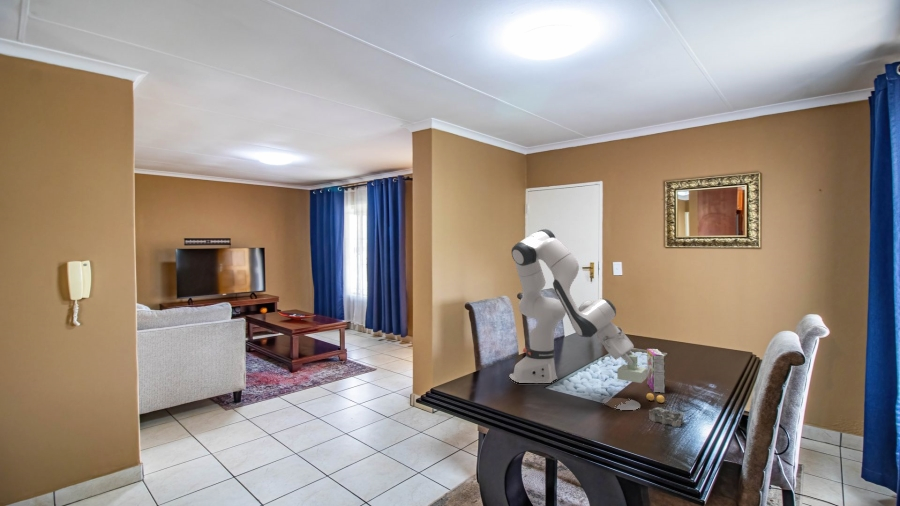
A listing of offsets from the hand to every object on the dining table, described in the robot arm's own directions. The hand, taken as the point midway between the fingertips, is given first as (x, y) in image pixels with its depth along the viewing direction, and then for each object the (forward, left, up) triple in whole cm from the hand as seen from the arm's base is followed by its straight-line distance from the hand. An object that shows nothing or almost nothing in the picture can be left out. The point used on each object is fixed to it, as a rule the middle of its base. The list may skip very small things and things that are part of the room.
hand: (633, 362), depth 174 cm
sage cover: (-1, 0, -6) cm, 6 cm away
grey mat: (-6, 0, -16) cm, 17 cm away
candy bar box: (+19, +14, -16) cm, 29 cm away
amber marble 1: (+8, +1, -16) cm, 18 cm away
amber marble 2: (+10, -2, -16) cm, 19 cm away
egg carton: (+1, -18, -17) cm, 25 cm away
